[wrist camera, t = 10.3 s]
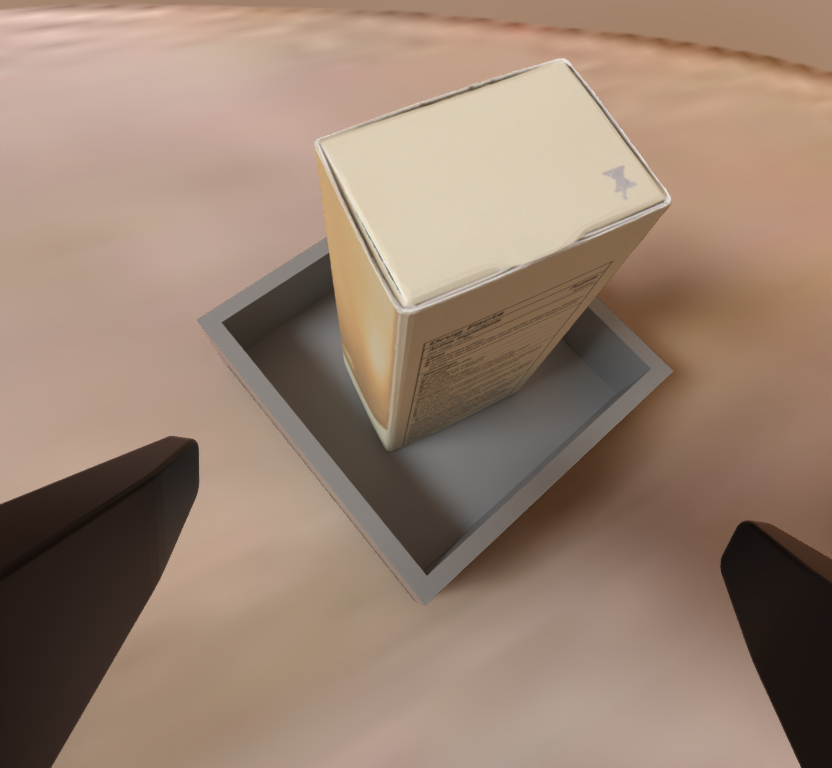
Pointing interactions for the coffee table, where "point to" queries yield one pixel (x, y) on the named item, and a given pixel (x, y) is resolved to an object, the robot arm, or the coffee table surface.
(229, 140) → the coffee table surface
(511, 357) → the skincare box
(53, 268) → the coffee table surface
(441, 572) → the tray
